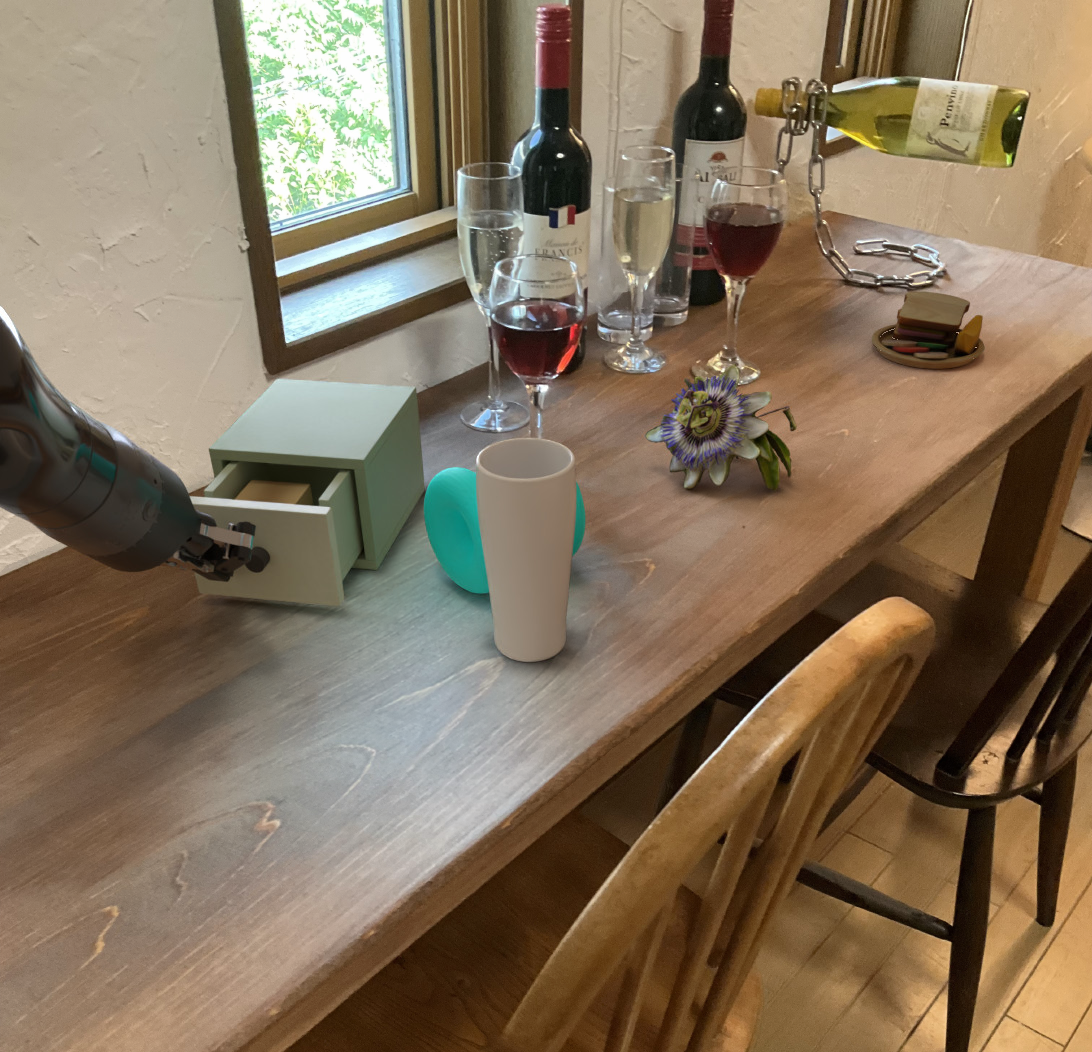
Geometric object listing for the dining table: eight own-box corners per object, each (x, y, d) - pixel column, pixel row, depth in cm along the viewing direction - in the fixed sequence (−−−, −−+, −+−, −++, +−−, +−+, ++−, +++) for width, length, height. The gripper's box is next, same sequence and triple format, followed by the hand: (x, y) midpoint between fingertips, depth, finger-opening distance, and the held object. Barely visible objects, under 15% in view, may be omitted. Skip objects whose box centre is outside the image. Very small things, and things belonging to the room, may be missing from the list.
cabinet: (377, 570, 93) (363, 459, 87) (231, 557, 95) (208, 448, 89) (425, 489, 104) (416, 386, 98) (293, 479, 106) (277, 378, 100)
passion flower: (689, 538, 107) (619, 435, 103) (736, 475, 113) (672, 374, 109) (784, 506, 99) (712, 391, 94) (829, 439, 105) (764, 328, 100)
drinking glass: (470, 660, 83) (457, 470, 73) (507, 613, 88) (499, 430, 78) (555, 679, 81) (553, 487, 71) (588, 630, 85) (591, 444, 76)
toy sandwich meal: (855, 359, 128) (861, 317, 125) (891, 324, 137) (899, 284, 134) (965, 379, 123) (975, 336, 120) (996, 341, 132) (1006, 300, 129)
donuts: (592, 577, 92) (594, 463, 85) (491, 619, 87) (485, 501, 81) (519, 531, 98) (516, 421, 92) (422, 567, 93) (411, 454, 87)
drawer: (334, 615, 86) (320, 522, 81) (192, 601, 88) (170, 510, 83) (391, 523, 97) (381, 436, 92) (264, 513, 99) (248, 427, 94)
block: (238, 565, 90) (226, 508, 87) (261, 534, 94) (251, 479, 90) (297, 570, 89) (288, 513, 86) (319, 539, 93) (310, 483, 90)
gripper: (213, 443, 68) (312, 527, 85) (14, 428, 70) (150, 513, 87) (193, 563, 67) (297, 624, 85) (-7, 545, 70) (134, 608, 87)
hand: (222, 568), depth 86 cm, fingers closed
